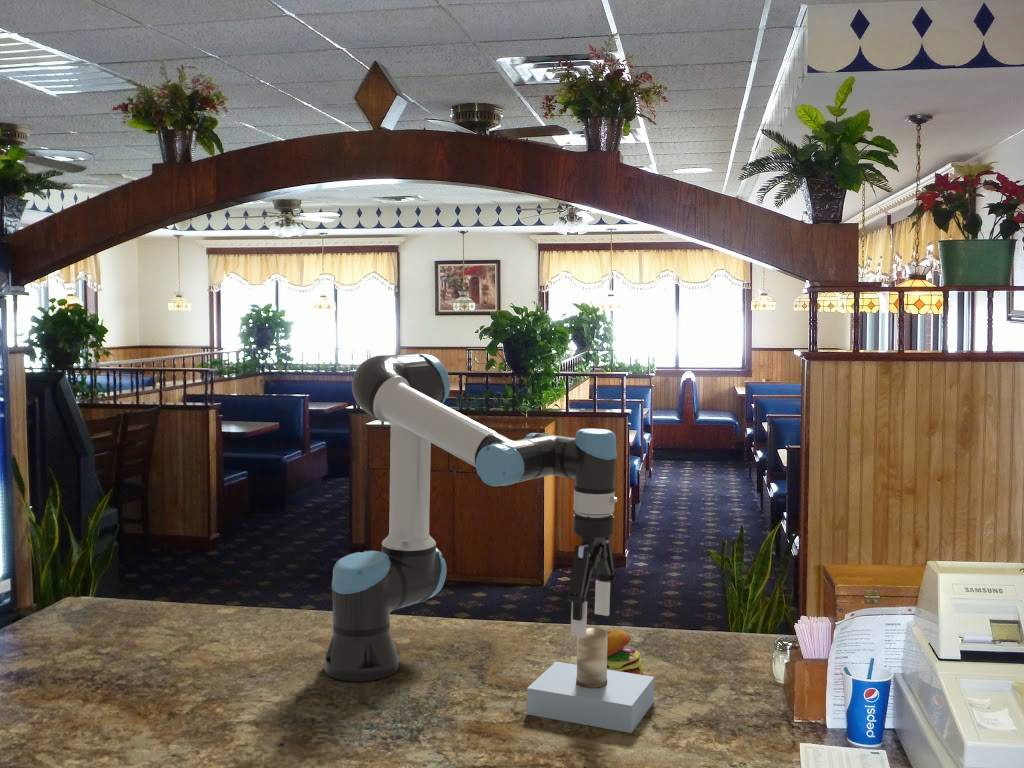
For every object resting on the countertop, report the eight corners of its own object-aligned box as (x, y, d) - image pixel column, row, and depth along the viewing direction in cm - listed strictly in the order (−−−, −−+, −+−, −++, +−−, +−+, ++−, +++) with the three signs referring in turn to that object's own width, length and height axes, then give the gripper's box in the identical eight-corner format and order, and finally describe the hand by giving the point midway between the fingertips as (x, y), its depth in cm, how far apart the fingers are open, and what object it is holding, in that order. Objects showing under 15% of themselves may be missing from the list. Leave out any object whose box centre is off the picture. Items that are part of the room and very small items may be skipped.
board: (526, 714, 186) (527, 688, 186) (555, 686, 200) (555, 661, 200) (631, 733, 178) (631, 705, 178) (653, 702, 192) (654, 676, 192)
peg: (571, 708, 188) (572, 635, 186) (581, 697, 193) (582, 626, 192) (601, 714, 185) (602, 639, 184) (610, 702, 191) (611, 630, 189)
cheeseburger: (643, 683, 201) (632, 635, 201) (591, 692, 203) (580, 644, 203) (647, 665, 211) (636, 619, 210) (597, 673, 213) (586, 628, 213)
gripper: (591, 529, 173) (587, 649, 175) (632, 502, 196) (629, 608, 198) (550, 524, 176) (547, 642, 178) (596, 498, 199) (592, 603, 201)
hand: (590, 625), depth 188 cm, fingers open, 13 cm apart
